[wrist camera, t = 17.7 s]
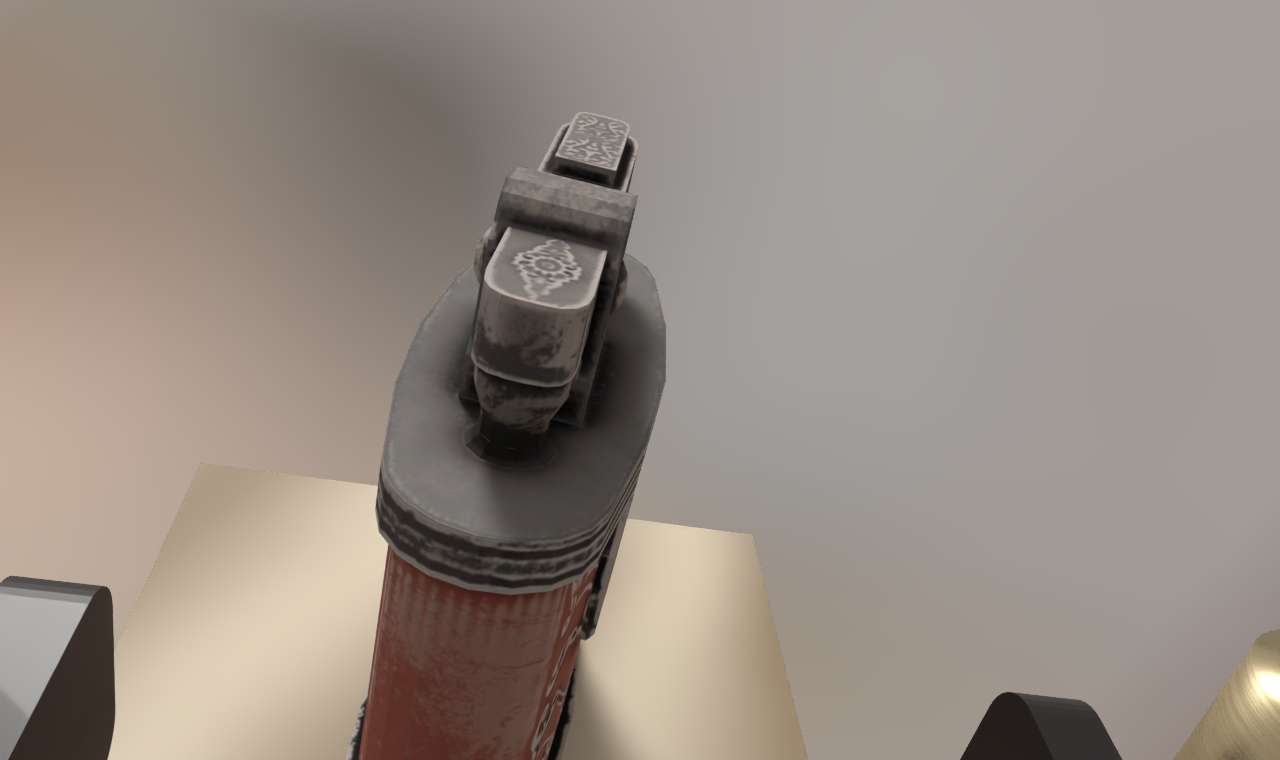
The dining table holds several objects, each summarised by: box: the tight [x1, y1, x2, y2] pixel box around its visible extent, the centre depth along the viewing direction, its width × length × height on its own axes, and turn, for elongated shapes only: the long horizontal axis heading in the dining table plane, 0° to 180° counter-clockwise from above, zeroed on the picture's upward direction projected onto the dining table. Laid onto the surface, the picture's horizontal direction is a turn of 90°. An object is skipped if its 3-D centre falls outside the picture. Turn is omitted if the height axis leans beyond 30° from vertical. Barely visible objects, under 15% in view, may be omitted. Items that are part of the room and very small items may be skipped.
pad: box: [108, 463, 808, 760], centre depth 19 cm, size 12×12×1 cm
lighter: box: [346, 112, 666, 760], centre depth 16 cm, size 8×3×10 cm, turn 176°
